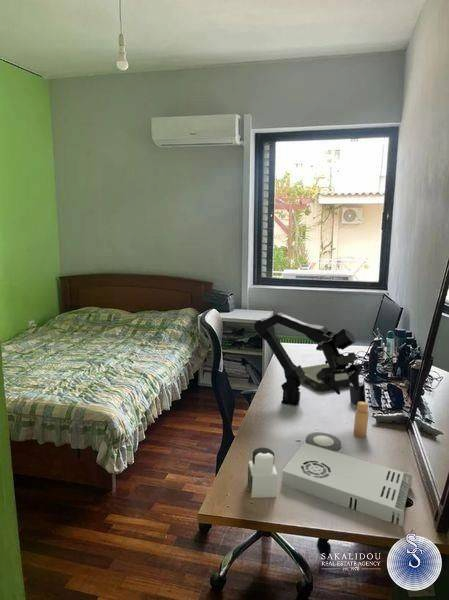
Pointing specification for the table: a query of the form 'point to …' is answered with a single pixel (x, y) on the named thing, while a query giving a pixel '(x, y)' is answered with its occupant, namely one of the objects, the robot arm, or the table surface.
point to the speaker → (357, 393)
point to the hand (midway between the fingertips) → (349, 392)
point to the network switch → (312, 380)
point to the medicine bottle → (262, 474)
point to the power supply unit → (349, 481)
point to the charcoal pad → (324, 441)
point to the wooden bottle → (361, 420)
